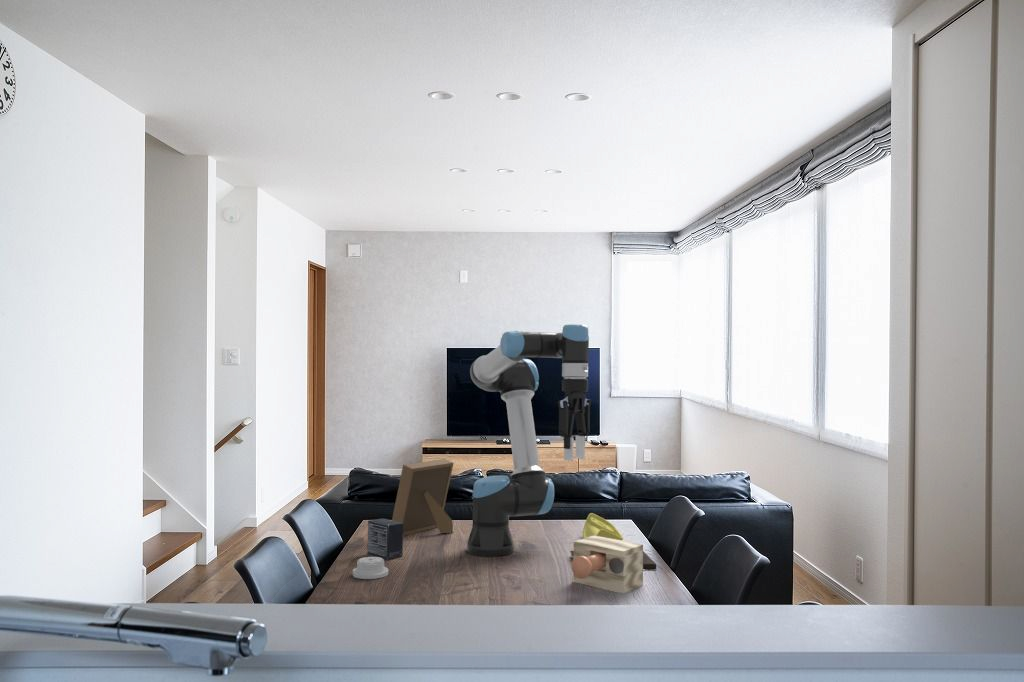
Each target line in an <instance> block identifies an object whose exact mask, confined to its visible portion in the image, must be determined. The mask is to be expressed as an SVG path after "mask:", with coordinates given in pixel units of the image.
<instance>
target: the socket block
mask: <svg viewBox="0 0 1024 682" xmlns="http://www.w3.org/2000/svg"><path fill="white" fill-rule="evenodd" d="M573 551H574V558H575V557H578V556H586V557H588V556H591V555H594V554H597V553H600V552H601V553H606V567H604V568H601V569H598V570H596V571H593V572H592V573H591V574H590V576H588V577H586V578H583V579H580V578H577V577H576V576H575V575H574V574H573V573H572V574H573V580H572V581H573V583H577V584H582V585H586V586H589V587H593V588H597V589H603V590H606V591H611V592H615V593H619V594H623V595H625V594H627V593H628V592H631V591H633V590H635V589H637V588H641V587H643V586H644V570H643V551H644V544H643V543H637V542H630V541H626V540H622V541H621V540H616V539H611V538H605V537H600V536H594V535H593V536H590V537H587V538H581V539H578V540H574V541H573Z"/></svg>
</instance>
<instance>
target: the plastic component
mask: <svg viewBox="0 0 1024 682" xmlns="http://www.w3.org/2000/svg"><path fill="white" fill-rule="evenodd" d="M593 535H594V536H600V537H605V538H611V539H616V540H621V541H624V536H623V535H622V534H621V533H620V531H619V529H617V528H616V526H615V525H614V524H612V523H611V522H610V521H608V520H606V518H604V517H601V516H599V515H598V514H596V513H593V512H591V513H589V514H587V518H586V520H585V522H584V525H583V528H582V539H584V538H587V537H590V536H593Z"/></svg>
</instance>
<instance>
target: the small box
mask: <svg viewBox="0 0 1024 682" xmlns="http://www.w3.org/2000/svg"><path fill="white" fill-rule="evenodd" d="M403 540H404V536H403V523H401V522H397V521H392V519H387V518H383V517H382V518H377V519H370V520H368V521H367V552H366V553H367V555H371V556H372V557H380V558H382V559H384V560H392V559H396V558H400V557H401V558H402V557H403V551H404V549H403V548H404V546H403V544H404V541H403Z"/></svg>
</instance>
